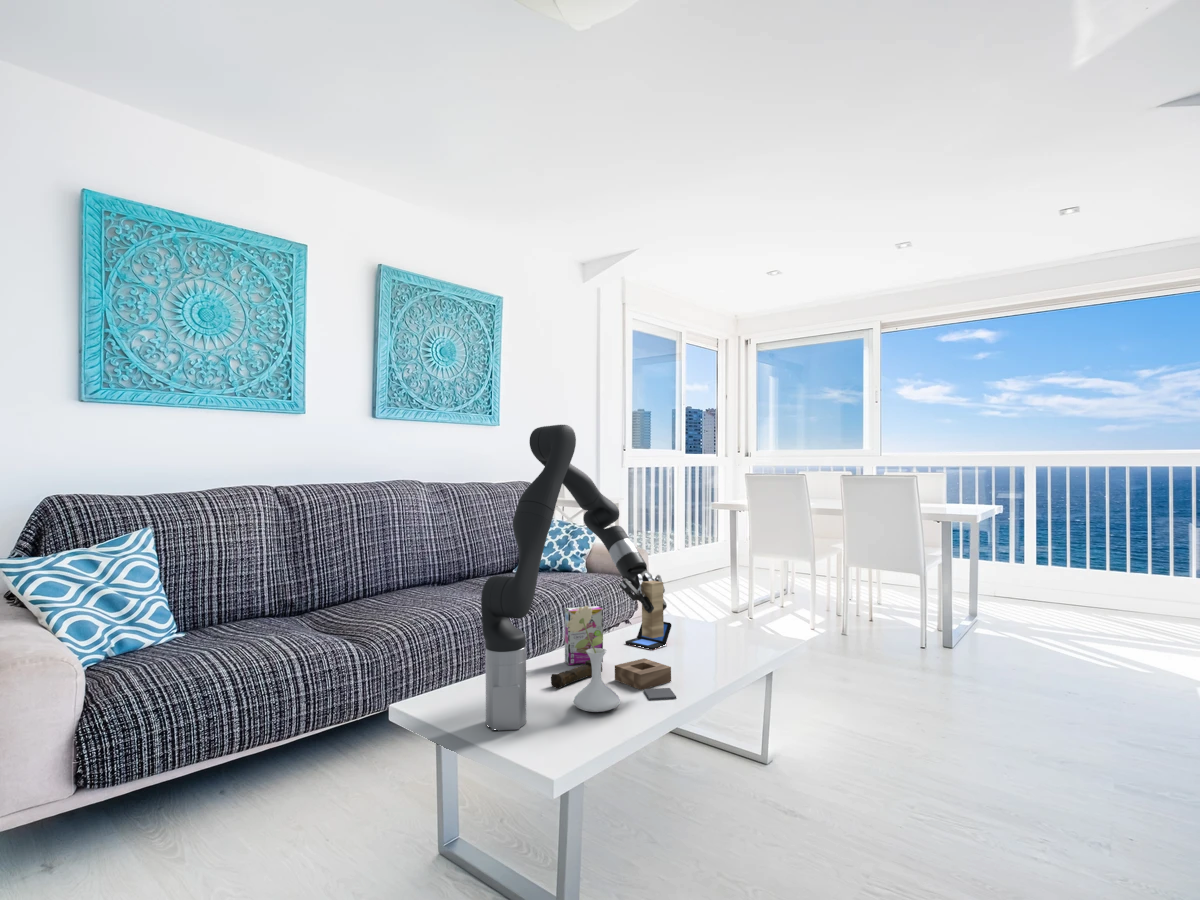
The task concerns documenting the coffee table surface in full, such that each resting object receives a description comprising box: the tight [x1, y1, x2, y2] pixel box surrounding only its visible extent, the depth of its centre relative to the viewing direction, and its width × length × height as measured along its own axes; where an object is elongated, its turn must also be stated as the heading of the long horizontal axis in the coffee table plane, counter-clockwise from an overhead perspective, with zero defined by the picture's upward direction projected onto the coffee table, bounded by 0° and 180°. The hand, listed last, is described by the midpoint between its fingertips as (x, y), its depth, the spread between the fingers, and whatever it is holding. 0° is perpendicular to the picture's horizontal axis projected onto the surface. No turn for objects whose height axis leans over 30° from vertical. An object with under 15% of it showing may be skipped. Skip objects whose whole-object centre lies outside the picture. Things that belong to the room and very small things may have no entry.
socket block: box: [614, 658, 672, 691], centre depth 175 cm, size 11×11×4 cm
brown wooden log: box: [550, 660, 603, 690], centre depth 176 cm, size 19×4×5 cm, turn 136°
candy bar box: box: [564, 605, 604, 666], centre depth 194 cm, size 11×5×16 cm, turn 108°
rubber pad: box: [643, 687, 677, 701], centre depth 163 cm, size 7×7×1 cm
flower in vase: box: [567, 605, 621, 713], centre depth 154 cm, size 13×11×25 cm
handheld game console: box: [625, 621, 672, 650], centre depth 214 cm, size 12×11×7 cm
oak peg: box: [641, 581, 665, 638], centre depth 167 cm, size 4×4×14 cm
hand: (657, 609), depth 166 cm, fingers closed on oak peg, 4 cm apart
